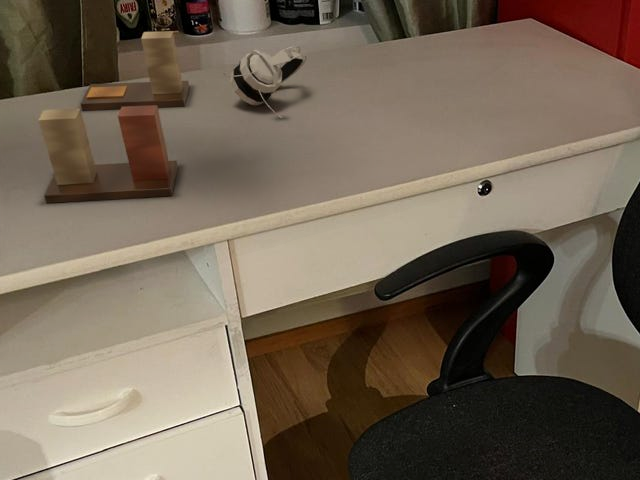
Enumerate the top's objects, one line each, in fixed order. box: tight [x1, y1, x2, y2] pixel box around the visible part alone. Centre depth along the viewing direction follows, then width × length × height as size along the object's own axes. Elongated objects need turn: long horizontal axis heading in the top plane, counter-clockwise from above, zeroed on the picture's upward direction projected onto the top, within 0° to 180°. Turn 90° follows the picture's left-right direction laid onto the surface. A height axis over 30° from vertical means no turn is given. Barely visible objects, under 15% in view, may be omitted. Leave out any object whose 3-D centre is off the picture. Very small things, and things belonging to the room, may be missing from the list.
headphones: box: [223, 45, 307, 119], centre depth 122 cm, size 8×10×20 cm
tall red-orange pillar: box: [117, 105, 170, 181], centre depth 102 cm, size 4×3×8 cm
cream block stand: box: [37, 108, 179, 204], centre depth 101 cm, size 14×8×9 cm, turn 100°
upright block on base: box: [80, 30, 190, 111], centre depth 124 cm, size 14×8×9 cm, turn 100°
